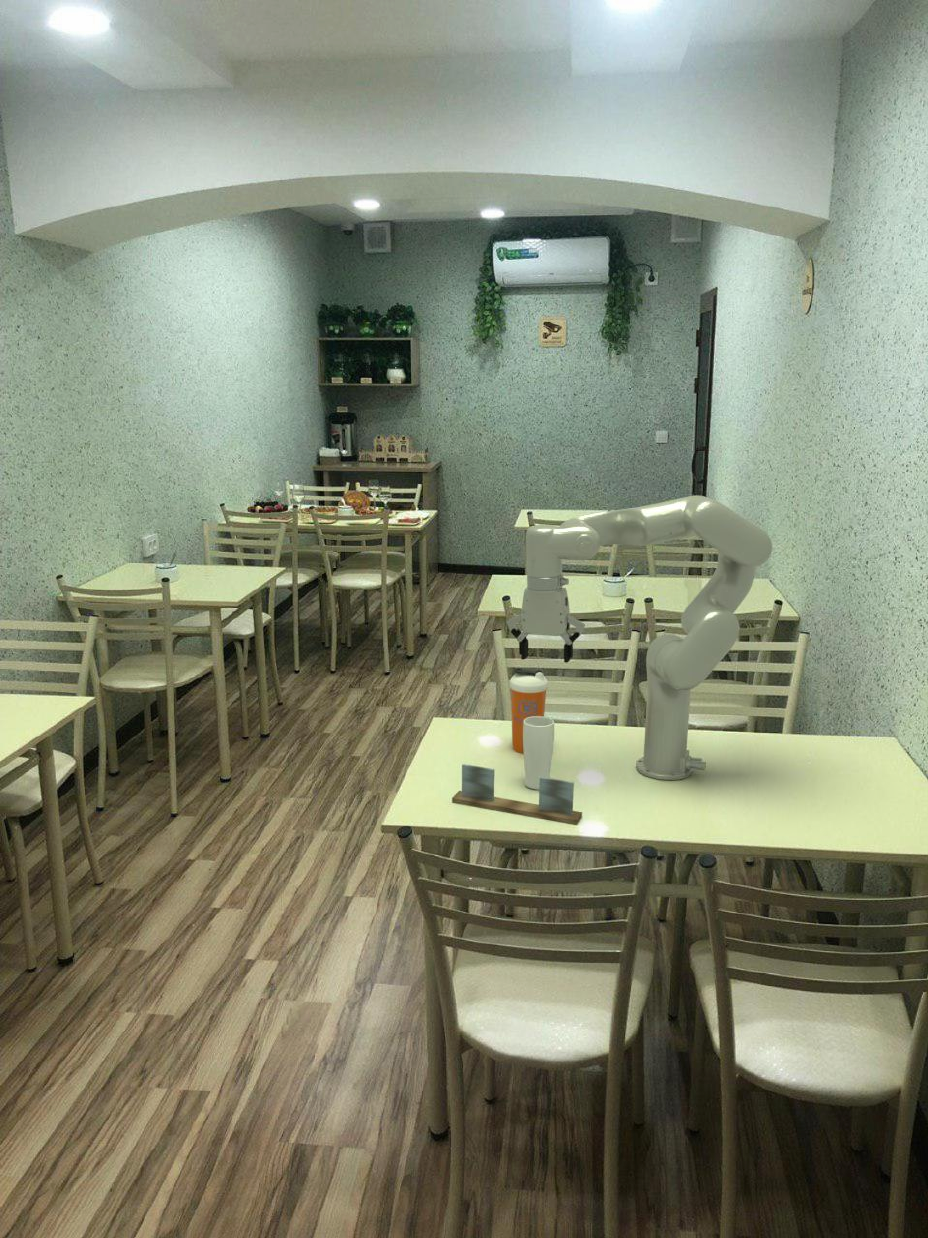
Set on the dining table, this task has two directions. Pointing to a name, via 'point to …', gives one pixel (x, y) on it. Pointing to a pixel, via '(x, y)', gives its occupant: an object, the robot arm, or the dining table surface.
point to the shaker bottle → (526, 700)
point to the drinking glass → (537, 749)
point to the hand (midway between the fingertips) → (546, 659)
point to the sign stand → (551, 801)
